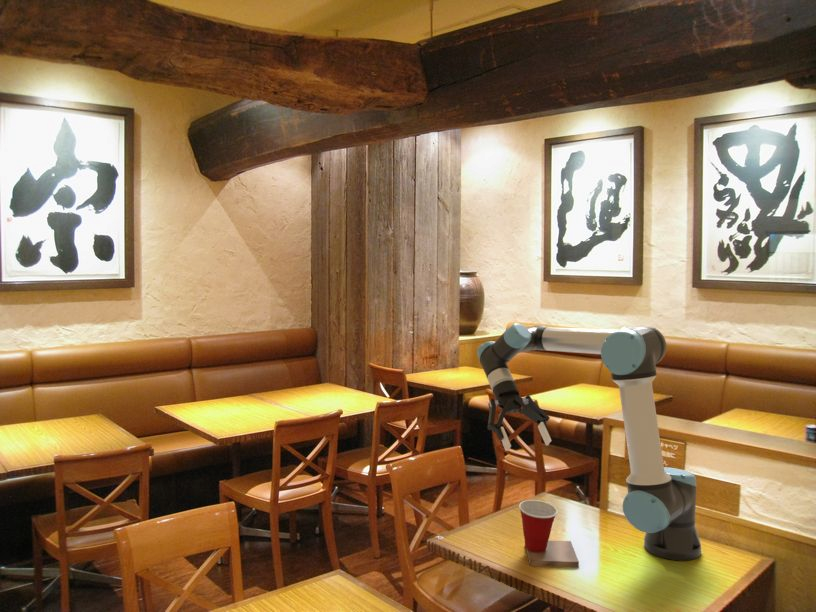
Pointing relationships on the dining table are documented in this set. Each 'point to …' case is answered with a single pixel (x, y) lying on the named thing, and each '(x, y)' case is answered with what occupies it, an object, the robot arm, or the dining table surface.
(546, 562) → the walnut coaster board
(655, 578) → the dining table surface
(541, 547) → the plastic cup
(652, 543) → the robot arm
